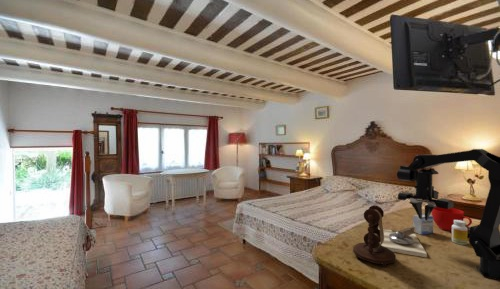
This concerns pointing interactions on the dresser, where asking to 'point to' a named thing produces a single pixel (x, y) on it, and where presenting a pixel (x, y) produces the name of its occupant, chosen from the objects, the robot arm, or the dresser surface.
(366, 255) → the brown tall stacked figurine
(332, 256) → the dresser surface
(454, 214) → the ceramic cup
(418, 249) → the ash stand
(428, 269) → the dresser surface
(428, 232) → the medicine box
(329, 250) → the dresser surface
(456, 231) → the supplement bottle
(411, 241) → the cam lever
